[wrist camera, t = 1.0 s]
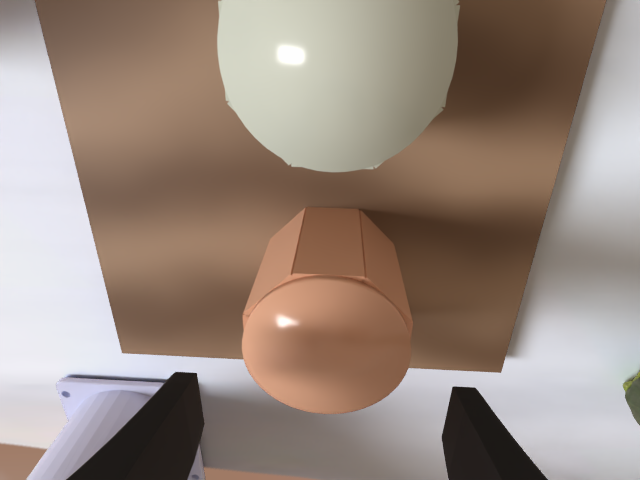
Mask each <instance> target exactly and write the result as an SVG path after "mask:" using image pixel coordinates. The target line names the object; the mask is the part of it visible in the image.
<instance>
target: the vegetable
mask: <svg viewBox="0 0 640 480" xmlns="http://www.w3.org/2000/svg"><path fill="white" fill-rule="evenodd" d="M639 371H640V370H639ZM623 388H624V390H625V392H626V393H625V398H626V401H627V403H628V405H629V407H630V409H631V411H632V414H633V417H634V418H635V420H636V421H637V423H638V424H639V425H640V372H639V373H638V376H636V377H635V378H634V379H633V380H632V381H629V382H625V383H624V384H623Z"/></svg>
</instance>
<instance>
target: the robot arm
mask: <svg viewBox="0 0 640 480" xmlns="http://www.w3.org/2000/svg"><path fill="white" fill-rule="evenodd" d="M56 388H57V391H58V394H59V397H60V400H61V402H62V405H63V408H64V411H65V414H66V416H67V419H68V422H67V423H66V425H65V426H64V427H63V429H62V430H61V432H60V433H59V434H58V436H57V437H56V439H55V440H54V441H53V443H52V444H51V445H50V447H49V448H48V450H47V451H46V453H45V454H44V455H43V457H42V458H41V459H40V461H39V462H38V464H37V465H36V466H35V468H34V469H33V471H32V472H31V473H30V475H29V476H28V478H27V479H26V480H205V474H204V468H203V461H202V455H201V449H200V439H201V435H202V431H203V427H204V418H203V412H202V405H201V398H200V392H199V385H198V378H197V373H185V372H175V373H174V374H173V375H172V376H171V377H170V378H169V379H168V380H167V381H166V382H165V383H159V382H141V381H122V380H104V379H85V378H67V377H65V378H61V379H60V380H59V381H58V382H57V384H56ZM442 442H443V449H444V455H445V461H446V467H447V473H448V478H449V480H548V479H547V478H546V477H545V476H544V475H543V473H542V472H541V471H540V470H539V469H538V468H537V466H536V465H535V464H534V463H533V462H532V460H531V459H530V458H529V457H528V455H527V454H526V453H525V452H524V451H523V449H522V448H521V447H520V446H519V444H518V443H517V442H516V441H515V439H514V438H513V437H512V436H511V434H510V433H509V432H508V430H507V429H506V428H505V426H504V425H503V424H502V422H501V421H500V420H499V419H498V417H497V416H496V415H495V413H494V412H493V411H492V409H491V408H490V406H489V405H488V404H487V402H486V401H485V400H484V398H483V397H482V396H481V394H480V393H479V391H478V390H477V389H476V388H471V387H453V388H452V393H451V397H450V402H449V406H448V411H447V416H446V420H445V425H444V429H443V434H442Z"/></svg>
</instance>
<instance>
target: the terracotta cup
mask: <svg viewBox="0 0 640 480" xmlns="http://www.w3.org/2000/svg"><path fill="white" fill-rule="evenodd" d="M412 327H413V321H412V316H411V312H410V308H409V304H408V300H407V296H406V292H405V288H404V283H403V279H402V275H401V271H400V267H399V263H398V259H397V255H396V250H395V246H394V244H393V243H392V242H391V240H390V239H389V238H388V237H387V236H386V235H385V234H384V233H383V232H382V231H381V230H380V229H379V228H378V227H377V226H376V225H375V224H374V223H373V222H372V221H371V220H370V219H369V218H368V217H367V216H366V215H365V214H364V213H363V212H362V211H361V210H359V209H350V208H324V207H307V208H304V209H303V210H302V211H301V212H300V213H299V214H297V215H296V216H295V217H294V218H293V219H292V220H291V221H290V222H289V223H287V224H286V225H285V226H284V227H283V228H282V229H281V230H280V231H278V232H277V233H276V234H275V235H274V236H273V237H272V238H271V239H270V241H269V243H268V246H267V249H266V252H265V254H264V257H263V260H262V263H261V265H260V268H259V271H258V274H257V276H256V279H255V282H254V285H253V287H252V290H251V293H250V296H249V298H248V301H247V304H246V307H245V309H244V312H243V328H244V332H243V338H242V353H243V358H244V361H245V364H246V367H247V369H248V371H249V373H250V375H251V376H252V377H253V379H254V380H255V382H256V383H257V384H258V385H259V386H260V387H261V388H262V389H263V390H264V391H265V392H266V393H268V394H269V395H270V396H272V397H273V398H275V399H276V400H278V401H280V402H282V403H284V404H286V405H288V406H291V407H293V408H296V409H299V410H303V411H307V412H312V413H321V414H339V413H347V412H352V411H356V410H360V409H363V408H366V407H368V406H371V405H373V404H375V403H377V402H379V401H380V400H382V399H383V398H385V397H386V396H388V395H389V394H390V393H391V392H392V391H393V390H394V389H395V388H396V387H397V386H398V385H399V384H400V382H401V381H402V379H403V378H404V376H405V374H406V372H407V370H408V367H409V364H410V360H411V334H412Z"/></svg>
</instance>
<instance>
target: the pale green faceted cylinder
mask: <svg viewBox="0 0 640 480" xmlns="http://www.w3.org/2000/svg"><path fill="white" fill-rule="evenodd" d="M458 3H459V1H458V0H222V1H218V7H219V24H218V34H217V47H218V60H219V67H220V72H221V76H222V80H223V84H224V87H225V97H226V101H229V102H228V103H227V104H228V105H229V106H230V107H231V108H232V109H233V110H234V111H235V112H236V114H237V115H238V117H239V118H240V120H241V121H242V123H243V124H244V125H245V127H246V128H247V129H248V130H249V132H250V133H251V134H252V135H253V136H254V137H255V138H256V139H257V140H258V141H259V142H260V143H261V144H262V145H264V146H265V147H266V148H267V149H268V150H270V151H271V152H273V153H274V154H276V155H277V156H279V157H281V158H282V159H283V160H284V161H285V162H286V163H287V164H288V165H290V164H291V167H303V168H307V169H312V170H316V171H323V172H348V171H355V170H360V169H373V167H375V168H377V167H378V166H379V165H380V164H382V163H383V162H384V161H385V160H387V159H389V158H391V157H392V156H394V155H396V154H398V153H399V152H400V151H402V150H403V149H404V148H406V147H407V146H408V145H410V144H411V143H412V142H413V141H414V140H415V139H416V138H417V137H418V136H419V135H420V134H421V133H422V132H423V131H424V130H425V128H426V127H427V126H428V125H429V123H430V122H431V121H432V119H433V118H435V117H436V116H437V115H438V114H439V113H440V112H442V111H443V109H442V107H445V104H446V97H447V92H448V89H449V86H450V83H451V80H452V77H453V72H454V68H455V63H456V57H457V46H458V31H457V23H458V16H459V9H460V5H457V4H458Z"/></svg>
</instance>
